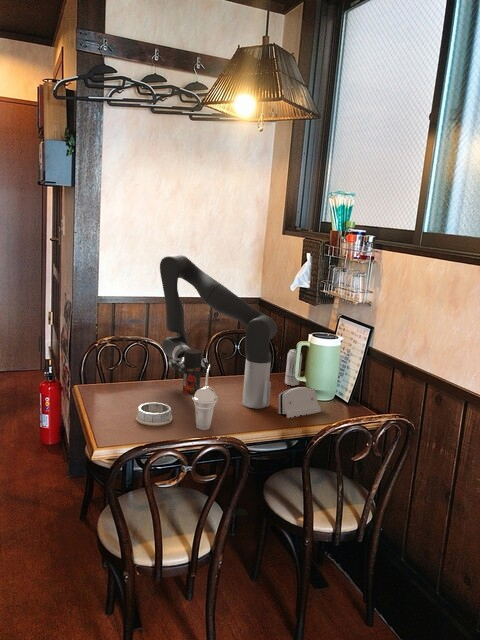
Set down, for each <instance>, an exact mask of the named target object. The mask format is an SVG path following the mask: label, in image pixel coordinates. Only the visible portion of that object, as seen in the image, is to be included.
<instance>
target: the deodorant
mask: <svg viewBox="0 0 480 640" xmlns="http://www.w3.org/2000/svg"><path fill="white" fill-rule="evenodd" d="M202 356H203V351H202V350H200V349H197V348H190V349H187V350H185V354H184V366H185V367H186V372H185V373H183V378H182V381H183V382H182V394H183V395H185V396H188V397H193V395H194V394H195V393H196V391H197V390H198V389H199V388H200V387H201V375H202V372H201V360H202V359H203V358H202Z"/></svg>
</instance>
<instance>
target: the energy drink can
mask: <svg viewBox="0 0 480 640" xmlns="http://www.w3.org/2000/svg"><path fill="white" fill-rule="evenodd" d="M296 350H297V349H295V348H294V349H292V348H291V349H289V351H288V353H287V359H286V368H285V369H286V370H285V378H284V384H285V385H286V384H287V385H291V386H295V385H298V386H299V385H300V380H299V381H298V380H296V379H295V373H294V372H295V361H296ZM302 360H303V354H302V353H301V355H300V364H299V376H300V377H301V369H302ZM287 385H286V386H287Z"/></svg>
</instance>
